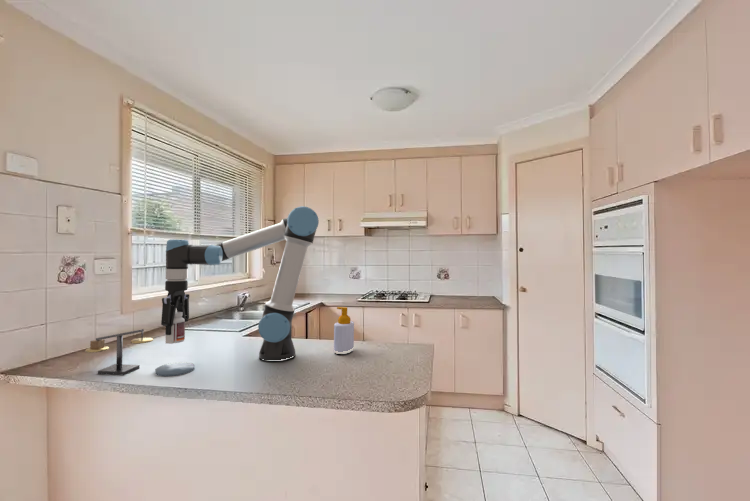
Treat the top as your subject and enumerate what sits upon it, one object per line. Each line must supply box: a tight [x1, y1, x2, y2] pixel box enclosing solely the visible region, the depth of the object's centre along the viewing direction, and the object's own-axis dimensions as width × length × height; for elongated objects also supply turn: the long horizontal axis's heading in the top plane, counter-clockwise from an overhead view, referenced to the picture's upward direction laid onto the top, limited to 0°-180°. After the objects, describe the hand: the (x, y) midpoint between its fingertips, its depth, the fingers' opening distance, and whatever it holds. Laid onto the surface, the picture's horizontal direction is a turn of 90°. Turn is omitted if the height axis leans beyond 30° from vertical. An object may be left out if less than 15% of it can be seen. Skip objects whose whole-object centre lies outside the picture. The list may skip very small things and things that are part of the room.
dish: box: [155, 361, 195, 377], centre depth 140 cm, size 13×13×1 cm
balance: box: [85, 328, 154, 376], centre depth 138 cm, size 25×8×16 cm, turn 86°
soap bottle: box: [333, 306, 355, 352], centre depth 170 cm, size 13×8×20 cm, turn 162°
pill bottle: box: [172, 311, 186, 344], centre depth 140 cm, size 6×6×11 cm
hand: (175, 340), depth 140 cm, fingers closed on pill bottle, 6 cm apart
